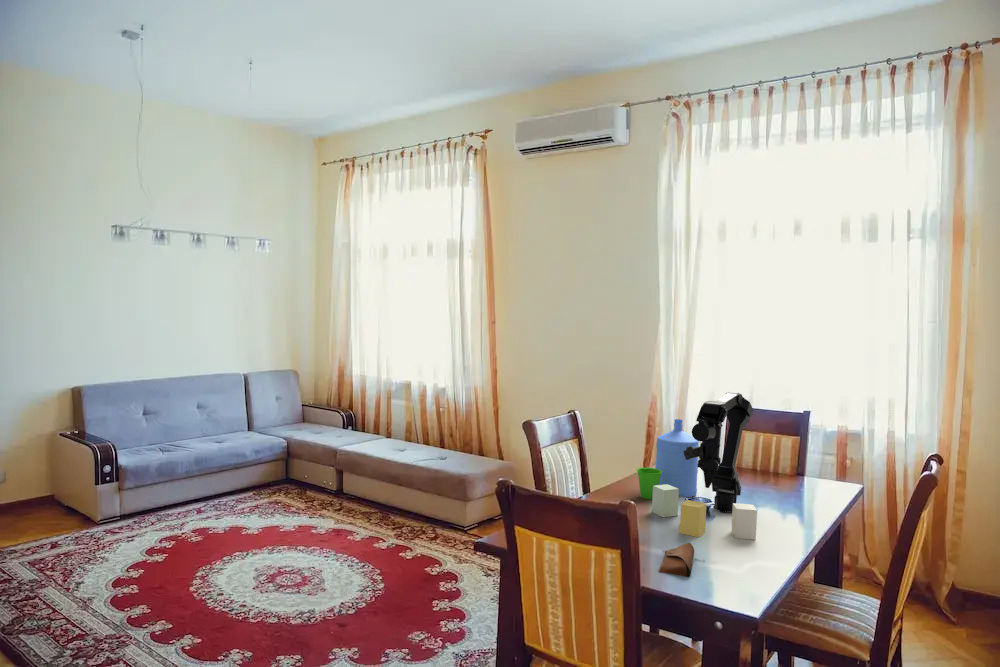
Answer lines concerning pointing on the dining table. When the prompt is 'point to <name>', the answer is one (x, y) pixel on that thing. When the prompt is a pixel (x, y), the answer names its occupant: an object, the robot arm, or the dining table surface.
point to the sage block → (665, 500)
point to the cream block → (744, 521)
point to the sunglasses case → (678, 560)
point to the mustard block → (693, 518)
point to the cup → (648, 481)
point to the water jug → (677, 460)
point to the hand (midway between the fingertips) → (707, 487)
